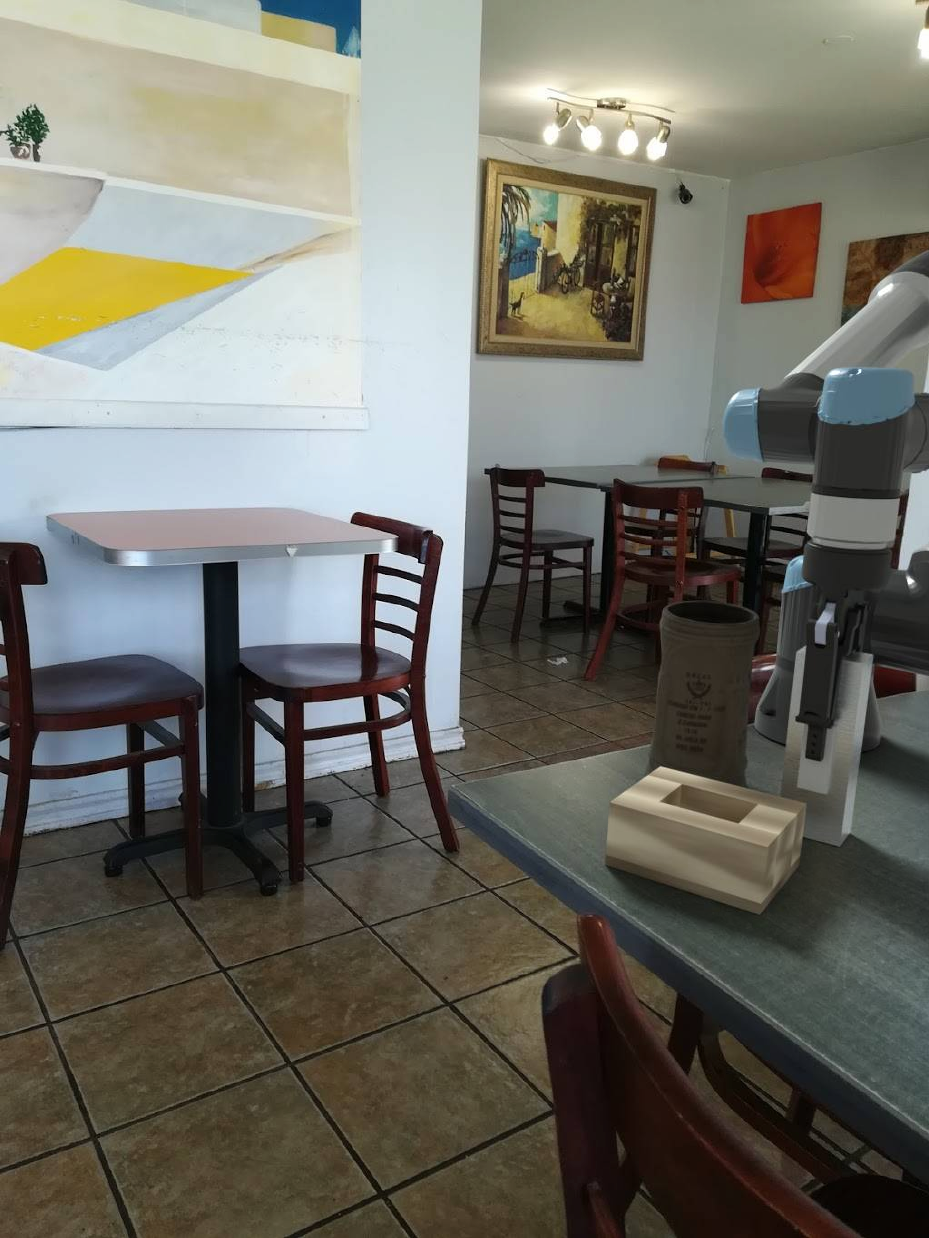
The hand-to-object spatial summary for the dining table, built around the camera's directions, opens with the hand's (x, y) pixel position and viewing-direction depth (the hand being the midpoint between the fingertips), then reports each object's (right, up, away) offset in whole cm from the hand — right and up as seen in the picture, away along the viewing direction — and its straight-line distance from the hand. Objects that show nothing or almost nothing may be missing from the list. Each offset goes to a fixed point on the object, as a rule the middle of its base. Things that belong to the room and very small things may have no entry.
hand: (819, 781), depth 95 cm
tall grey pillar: (0, -5, +1) cm, 5 cm away
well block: (-13, -6, -7) cm, 16 cm away
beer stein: (-9, -2, +12) cm, 16 cm away
